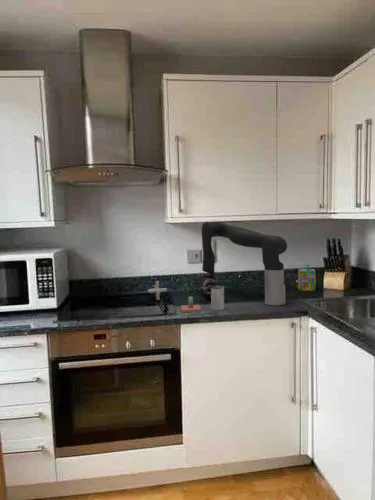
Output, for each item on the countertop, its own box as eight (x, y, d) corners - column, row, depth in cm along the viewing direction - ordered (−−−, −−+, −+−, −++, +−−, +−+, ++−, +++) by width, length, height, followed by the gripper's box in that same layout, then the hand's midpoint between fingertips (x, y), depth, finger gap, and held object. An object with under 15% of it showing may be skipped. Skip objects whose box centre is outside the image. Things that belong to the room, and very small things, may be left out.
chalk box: (297, 287, 222) (297, 263, 220) (314, 288, 220) (313, 263, 218) (299, 291, 213) (299, 265, 211) (316, 291, 211) (316, 265, 209)
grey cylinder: (223, 306, 183) (222, 286, 182) (225, 309, 177) (224, 288, 176) (210, 307, 182) (210, 287, 181) (212, 310, 176) (211, 289, 175)
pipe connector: (150, 302, 197) (149, 283, 196) (147, 298, 207) (146, 280, 206) (168, 300, 200) (168, 282, 199) (165, 296, 210) (164, 279, 209)
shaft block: (199, 307, 183) (198, 294, 183) (201, 311, 175) (200, 298, 174) (181, 308, 183) (180, 295, 182) (182, 312, 174) (181, 299, 173)
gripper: (197, 280, 203) (200, 285, 187) (223, 279, 204) (228, 284, 188) (198, 293, 203) (201, 300, 187) (224, 292, 204) (229, 299, 188)
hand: (215, 292), depth 187 cm, fingers open, 8 cm apart
